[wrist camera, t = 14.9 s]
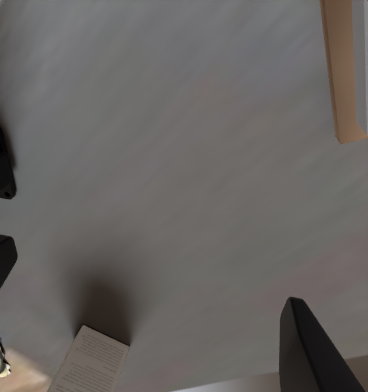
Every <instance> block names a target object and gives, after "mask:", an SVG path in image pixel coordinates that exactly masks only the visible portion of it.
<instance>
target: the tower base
mask: <svg viewBox="0 0 368 392" xmlns="http://www.w3.org/2000/svg"><path fill="white" fill-rule="evenodd" d="M320 6H321V15H322V24H323V33H324V41H325V50H326V59H327V67H328V76H329V85H330V93H331V102H332V111H333V119H334V128H335V137H336V138H337V140H338V141H339V143H340V144H343V143H348V142H352V141H357V140H362V139H366V138H368V135H367V134H366V133H365V132H364V131H363V130H362V128H361V127H360V126H359V125H358V124H357V123H356V100H355V75H354V50H353V25H352V0H320Z"/></svg>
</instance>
